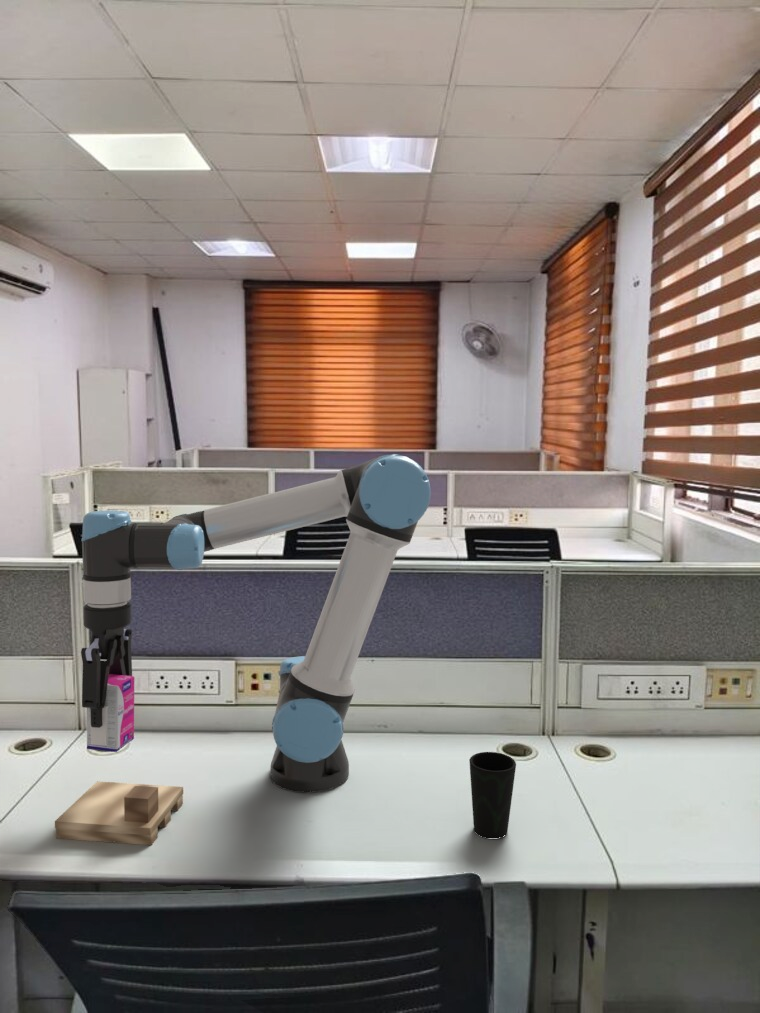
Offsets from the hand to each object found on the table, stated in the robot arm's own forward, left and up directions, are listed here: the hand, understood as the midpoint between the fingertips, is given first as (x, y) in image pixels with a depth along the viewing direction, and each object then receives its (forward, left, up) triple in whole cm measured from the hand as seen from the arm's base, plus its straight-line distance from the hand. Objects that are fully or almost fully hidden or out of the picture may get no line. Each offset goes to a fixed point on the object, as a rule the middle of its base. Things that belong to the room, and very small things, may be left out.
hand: (109, 735), depth 125 cm
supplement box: (0, 0, -2) cm, 2 cm away
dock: (-3, +2, -14) cm, 14 cm away
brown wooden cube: (-8, +5, -11) cm, 15 cm away
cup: (-65, -3, -14) cm, 67 cm away
